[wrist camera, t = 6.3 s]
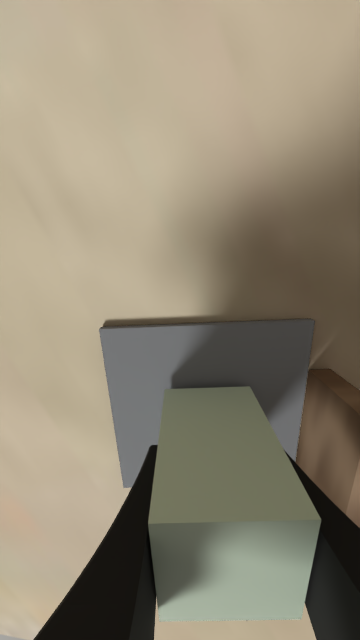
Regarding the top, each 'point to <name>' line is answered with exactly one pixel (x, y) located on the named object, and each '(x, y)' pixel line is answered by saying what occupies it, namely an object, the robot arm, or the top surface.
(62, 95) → the top surface
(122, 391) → the mat
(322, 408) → the wooden u-shaped shelf
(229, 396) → the block
